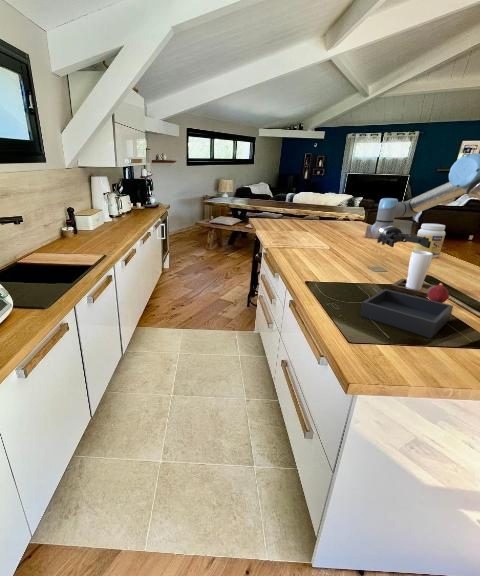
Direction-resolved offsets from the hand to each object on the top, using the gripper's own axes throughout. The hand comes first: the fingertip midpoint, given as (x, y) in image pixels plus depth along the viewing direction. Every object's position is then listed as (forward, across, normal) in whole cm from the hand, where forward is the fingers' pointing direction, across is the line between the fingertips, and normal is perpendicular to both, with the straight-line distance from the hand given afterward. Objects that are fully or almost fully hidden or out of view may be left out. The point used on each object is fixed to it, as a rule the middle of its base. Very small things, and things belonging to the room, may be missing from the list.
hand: (411, 244), depth 129 cm
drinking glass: (+10, 0, -16) cm, 19 cm away
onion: (+26, -1, -16) cm, 30 cm away
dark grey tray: (+39, +15, -16) cm, 45 cm away
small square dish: (+10, 0, -16) cm, 19 cm away
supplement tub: (-47, -30, -16) cm, 58 cm away
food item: (-94, -21, -17) cm, 98 cm away
